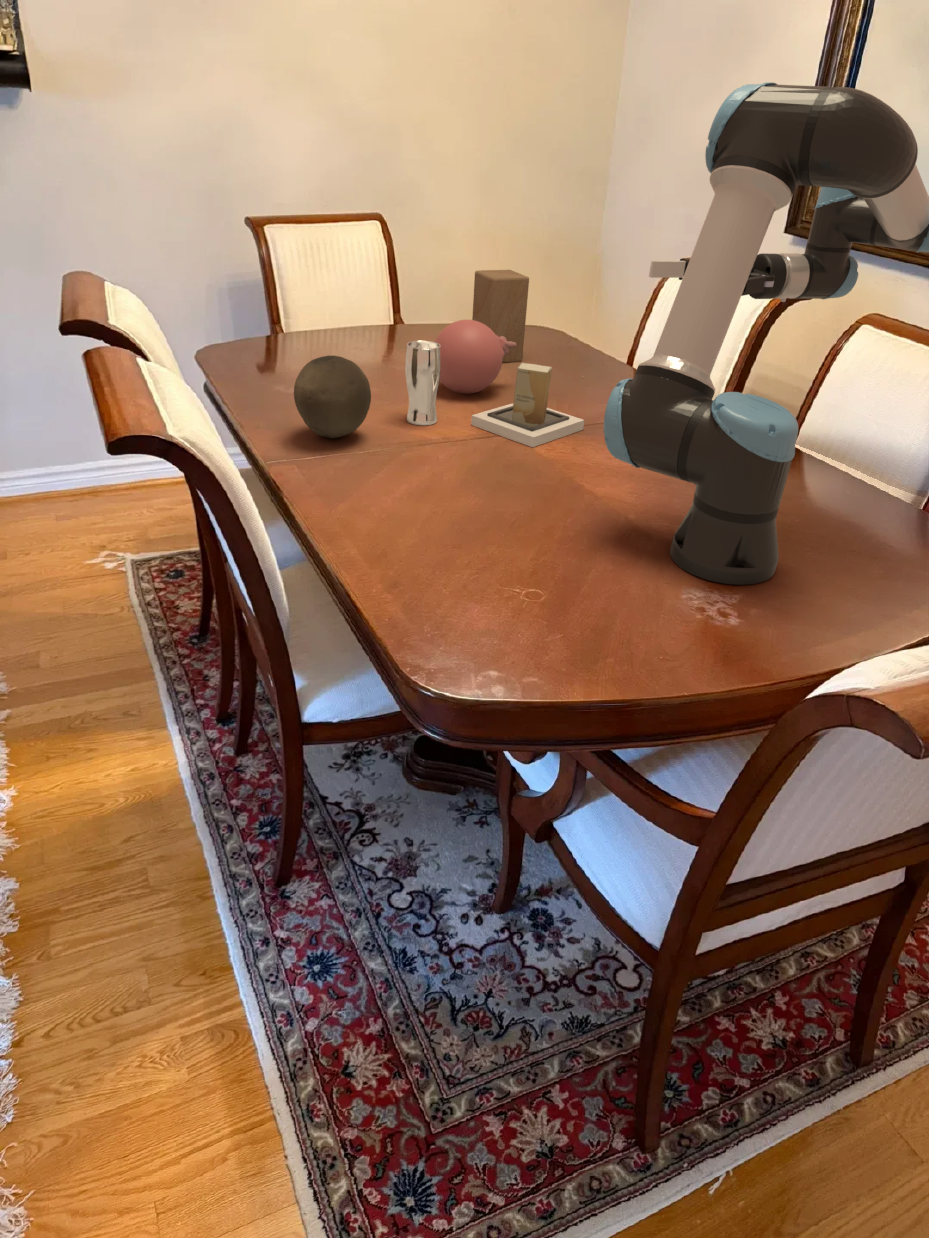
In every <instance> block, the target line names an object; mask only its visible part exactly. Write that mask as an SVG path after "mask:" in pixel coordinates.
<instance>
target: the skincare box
mask: <svg viewBox="0 0 929 1238" xmlns="http://www.w3.org/2000/svg"><path fill="white" fill-rule="evenodd" d="M552 370H553V367H552V366H547V365H542V364H541V365H540V364H535V363H528V362H526V363H525V362H521V363H520V364H519V365H518V367H517V371H516V377H515V386H514V387H515V388H514V394H513V395H514V397H513V412H512V420H513V421H516V422H518V423H521V424H524V425H527V426H530V427H534V426H537V425H540V424H543V423H545V417H546V410H547V408H548V400H549V393H550V386H551V378H552V372H553V371H552Z"/></svg>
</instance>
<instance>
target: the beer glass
mask: <svg viewBox="0 0 929 1238" xmlns="http://www.w3.org/2000/svg"><path fill="white" fill-rule="evenodd" d="M404 364H405V366H404V368H405V369H404V371H405V381H406V387H407V388H406V389H407V393H408V409H407V414H406V415H407V416H406V421H407V422H408V423H409V424H411V425H416V426H432V425H434V424H436V423H437V421H438V415H437V411H436V409H437V408H436V402H437V395H438V391H439V385H440V383H441V381H440V375H441V345H440V344H439V343H436V342H435V341H431V340H423V339H422V340H420V339H419V340H412V341H409V342H407V343H406V351H405V363H404Z"/></svg>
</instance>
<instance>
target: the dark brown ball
mask: <svg viewBox="0 0 929 1238" xmlns="http://www.w3.org/2000/svg"><path fill="white" fill-rule="evenodd" d="M293 399H294V403H295V407H296V410H297V412H298V414H299V415H300V417H301V419H302V420H303V422H304V423H305V425H306V427H308V429H310V430H311V431H312V432H314V433H315V434H316V435H319V436H321V437H325V438H327V439H338V438H341V437H343V436H347V435H349V434H351V433H353V432H355V431H357V429H358V428H360V427H361V425H362V424H363V423H364V421H365V419H366V418H367V414H369V413H368V412H369V410H370V407H371V400H372V390H371V386H370V382H369V379H368V377H367V375H366V374H365V372H364V371H363V370H362V369H361V367H360V366H359V365H358V364H356V363H355V362H354V361H352V360H350V359H348V358H345V357H342V356H340V355H324V356H319V357H316V358H313V359H311V360H310V361H308V362H307V363H306V364H305V365H304V366H303V368H302V369H301V370H300V371H299V373H298V375H297V377H296V379H295V383H294V387H293Z"/></svg>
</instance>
